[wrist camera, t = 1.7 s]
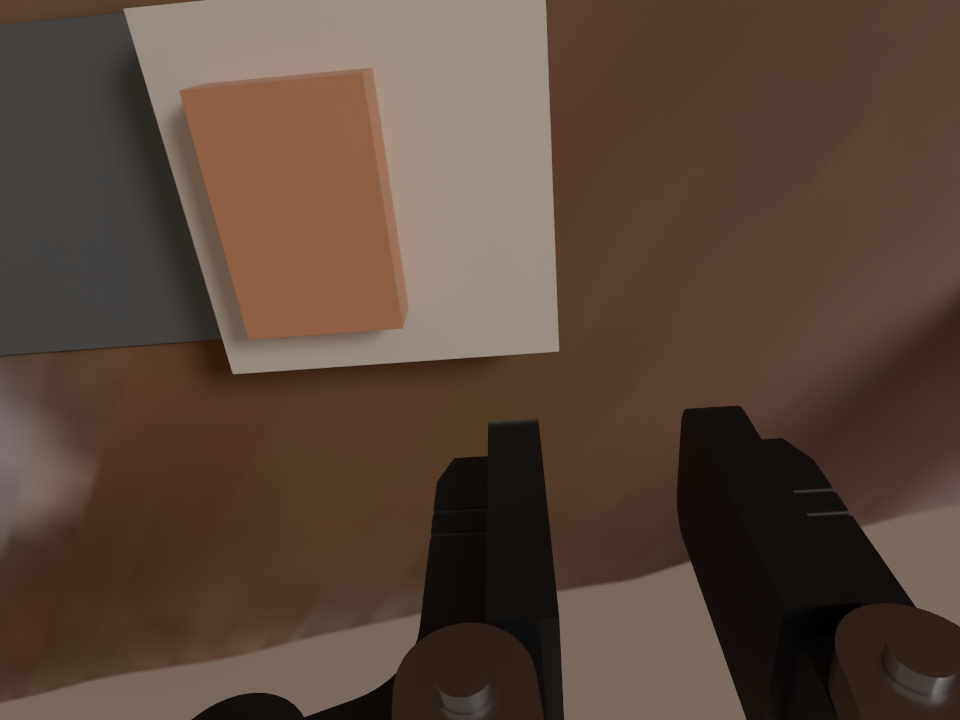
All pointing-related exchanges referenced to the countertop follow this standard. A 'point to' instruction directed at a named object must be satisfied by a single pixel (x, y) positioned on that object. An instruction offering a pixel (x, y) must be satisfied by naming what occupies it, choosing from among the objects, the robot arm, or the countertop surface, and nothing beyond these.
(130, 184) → the mat
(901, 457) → the countertop surface
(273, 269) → the block
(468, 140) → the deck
